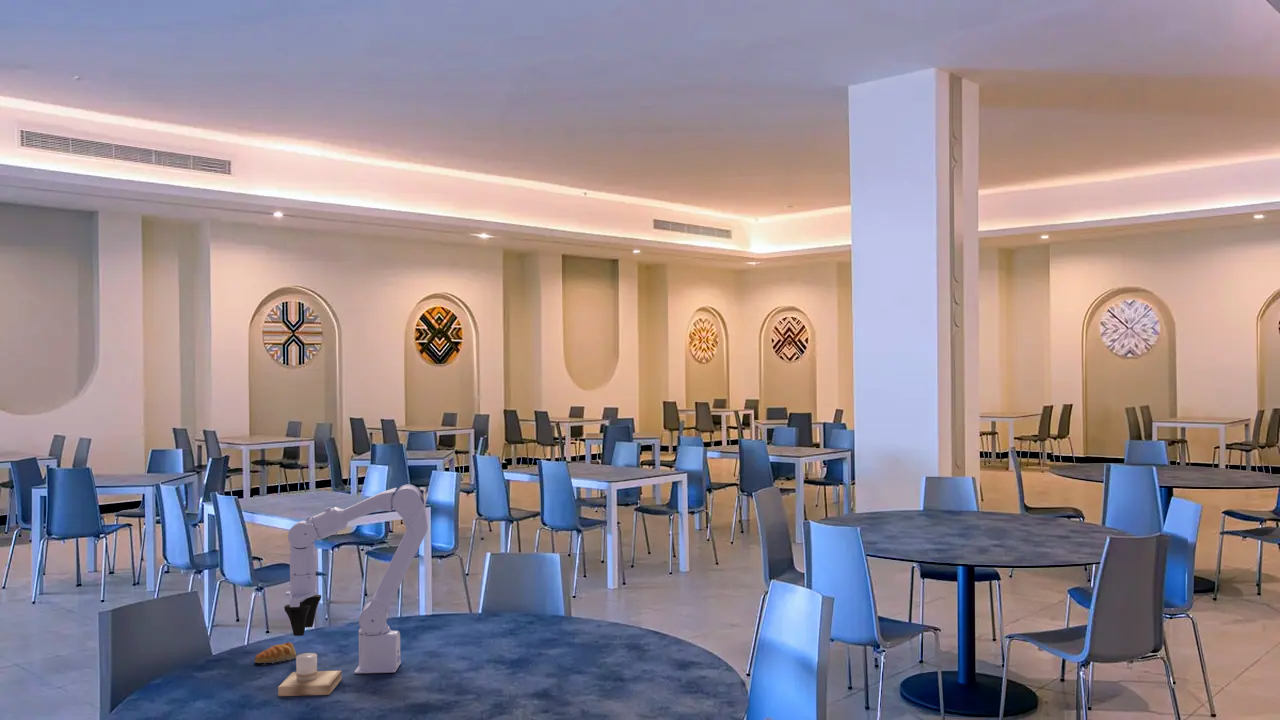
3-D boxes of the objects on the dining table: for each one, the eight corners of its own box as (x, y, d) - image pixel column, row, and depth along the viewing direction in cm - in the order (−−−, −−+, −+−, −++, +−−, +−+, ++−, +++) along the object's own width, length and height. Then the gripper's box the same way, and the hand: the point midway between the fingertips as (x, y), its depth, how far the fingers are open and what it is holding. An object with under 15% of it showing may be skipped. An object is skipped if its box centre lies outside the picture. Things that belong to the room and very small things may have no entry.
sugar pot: (320, 675, 228) (320, 653, 228) (311, 681, 224) (311, 659, 224) (302, 674, 229) (302, 652, 229) (292, 680, 224) (292, 658, 224)
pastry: (262, 668, 243) (262, 652, 243) (249, 663, 248) (249, 647, 248) (298, 659, 250) (298, 643, 250) (285, 654, 254) (285, 639, 254)
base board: (341, 679, 232) (341, 670, 232) (329, 694, 221) (329, 685, 221) (292, 680, 232) (292, 671, 232) (278, 696, 221) (278, 686, 221)
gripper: (294, 567, 244) (295, 623, 244) (276, 579, 230) (276, 639, 230) (324, 566, 245) (324, 623, 245) (307, 579, 230) (308, 638, 230)
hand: (303, 631), depth 237 cm, fingers open, 7 cm apart
